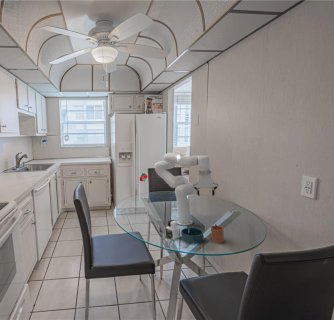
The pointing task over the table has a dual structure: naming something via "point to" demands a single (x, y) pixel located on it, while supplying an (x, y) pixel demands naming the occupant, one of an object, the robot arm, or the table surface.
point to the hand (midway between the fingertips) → (205, 195)
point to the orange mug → (217, 234)
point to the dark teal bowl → (192, 235)
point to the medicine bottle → (172, 230)
